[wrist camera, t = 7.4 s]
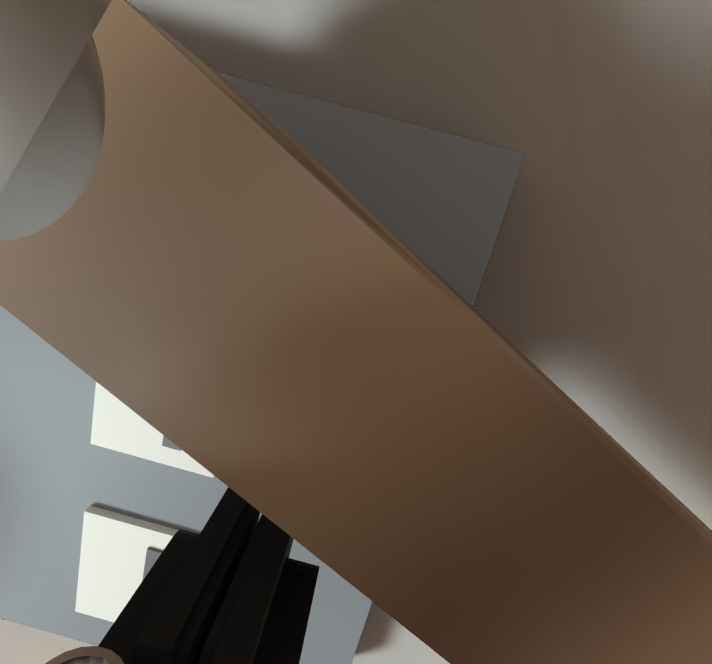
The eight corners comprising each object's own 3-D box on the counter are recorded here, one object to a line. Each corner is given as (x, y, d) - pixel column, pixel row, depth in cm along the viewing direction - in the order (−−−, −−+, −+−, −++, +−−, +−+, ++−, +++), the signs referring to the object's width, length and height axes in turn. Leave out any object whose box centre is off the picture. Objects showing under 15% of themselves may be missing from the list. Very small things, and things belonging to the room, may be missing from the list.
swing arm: (27, 156, 9) (-238, 115, 5) (127, -16, 8) (-112, -219, 4) (650, 686, 11) (779, 925, 8) (789, 603, 10) (1019, 830, 7)
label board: (-23, 22, 13) (-216, -65, 9) (505, 162, 13) (558, 138, 8) (-25, 556, 18) (-144, 653, 14) (340, 660, 18) (324, 788, 14)
